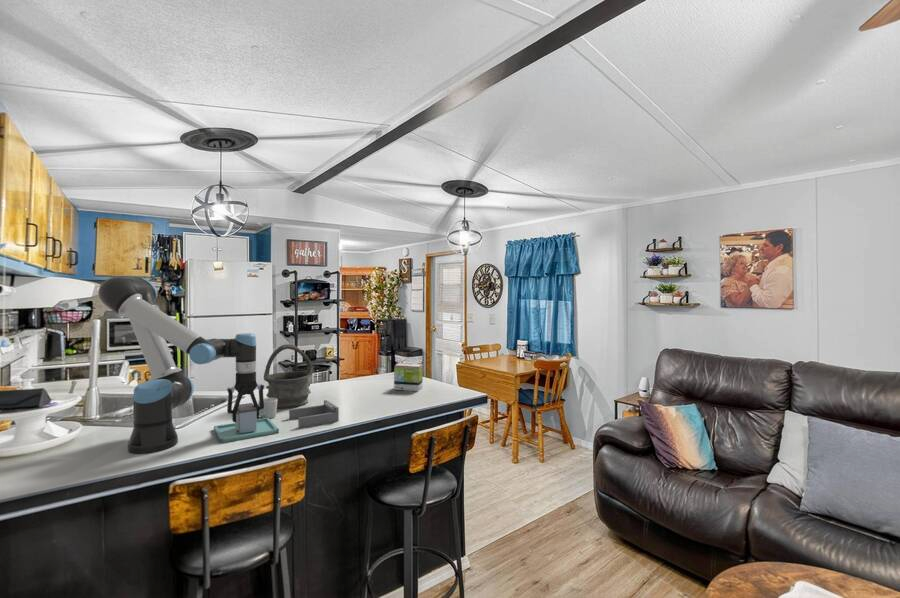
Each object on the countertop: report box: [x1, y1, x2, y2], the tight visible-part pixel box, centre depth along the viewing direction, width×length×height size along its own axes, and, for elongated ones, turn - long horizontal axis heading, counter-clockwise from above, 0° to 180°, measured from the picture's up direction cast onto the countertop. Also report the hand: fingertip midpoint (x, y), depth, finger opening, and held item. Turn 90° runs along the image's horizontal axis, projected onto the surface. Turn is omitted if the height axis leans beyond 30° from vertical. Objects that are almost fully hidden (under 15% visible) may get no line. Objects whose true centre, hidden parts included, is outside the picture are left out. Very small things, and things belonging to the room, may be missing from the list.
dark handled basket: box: [263, 343, 315, 409], centre depth 216 cm, size 22×23×30 cm
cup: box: [257, 397, 278, 419], centre depth 191 cm, size 11×8×8 cm
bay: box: [288, 399, 340, 429], centre depth 189 cm, size 17×16×6 cm
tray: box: [213, 418, 280, 444], centre depth 173 cm, size 21×19×2 cm
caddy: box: [237, 402, 257, 433], centre depth 173 cm, size 6×10×9 cm, turn 35°
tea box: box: [393, 362, 424, 392], centre depth 250 cm, size 15×10×15 cm, turn 80°
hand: (245, 428), depth 173 cm, fingers closed on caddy, 6 cm apart
